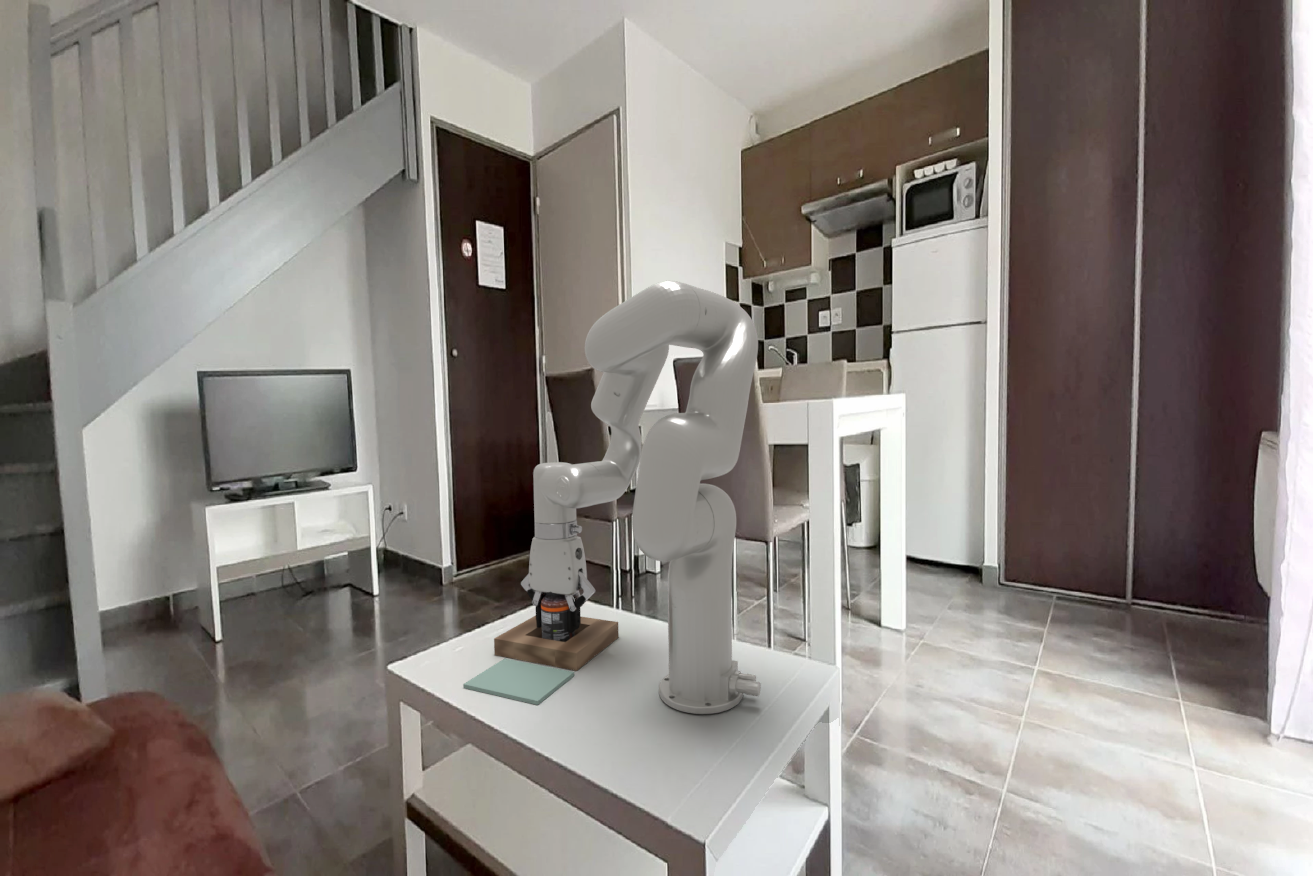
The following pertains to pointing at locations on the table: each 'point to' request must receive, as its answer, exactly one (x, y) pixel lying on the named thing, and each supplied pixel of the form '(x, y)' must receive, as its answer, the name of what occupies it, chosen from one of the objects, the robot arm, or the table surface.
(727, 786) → the table surface
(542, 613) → the supplement bottle
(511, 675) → the sage green mat
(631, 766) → the table surface
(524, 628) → the walnut frame
